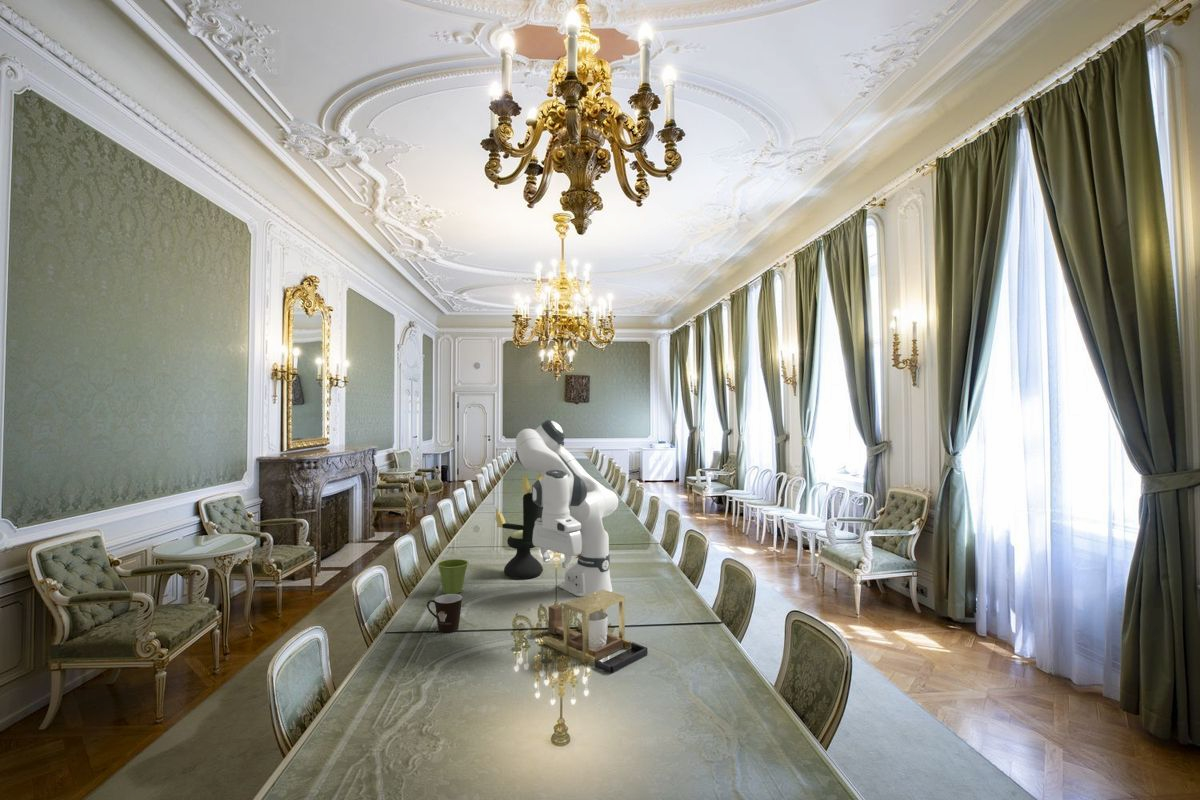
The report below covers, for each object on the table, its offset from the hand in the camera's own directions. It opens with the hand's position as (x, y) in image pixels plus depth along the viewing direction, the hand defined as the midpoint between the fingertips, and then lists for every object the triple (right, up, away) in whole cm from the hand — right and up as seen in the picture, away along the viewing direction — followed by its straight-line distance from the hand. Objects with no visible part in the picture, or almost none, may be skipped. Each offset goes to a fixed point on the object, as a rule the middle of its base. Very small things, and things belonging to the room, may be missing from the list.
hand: (555, 564), depth 179 cm
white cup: (+13, -22, -12) cm, 28 cm away
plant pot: (-43, -22, +38) cm, 61 cm away
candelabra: (-17, -22, +60) cm, 66 cm away
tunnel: (+13, -22, -12) cm, 28 cm away
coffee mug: (-36, -22, +3) cm, 42 cm away
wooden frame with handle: (+8, -21, -8) cm, 24 cm away
